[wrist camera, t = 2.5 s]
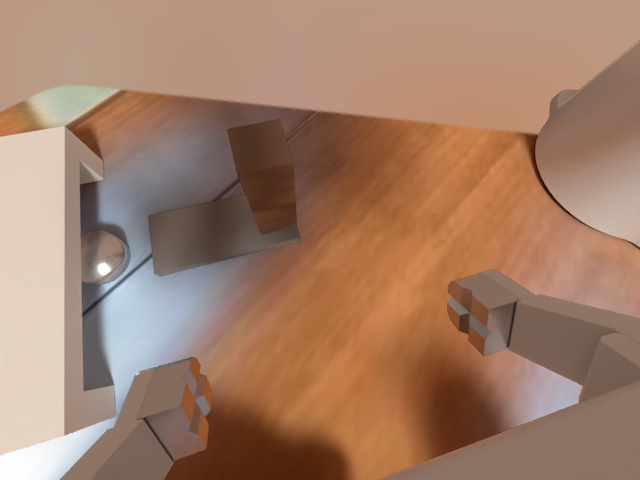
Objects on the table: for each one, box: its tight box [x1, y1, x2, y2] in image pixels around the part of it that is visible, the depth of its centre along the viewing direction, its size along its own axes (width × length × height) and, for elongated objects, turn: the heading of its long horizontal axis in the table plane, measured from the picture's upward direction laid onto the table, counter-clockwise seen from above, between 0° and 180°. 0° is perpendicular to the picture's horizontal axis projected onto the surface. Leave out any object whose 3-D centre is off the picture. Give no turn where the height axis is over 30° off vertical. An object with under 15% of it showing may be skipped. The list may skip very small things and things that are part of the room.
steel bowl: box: [81, 230, 130, 285], centre depth 23 cm, size 4×4×2 cm
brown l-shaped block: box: [148, 119, 300, 276], centre depth 20 cm, size 12×5×10 cm, turn 106°
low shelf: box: [0, 126, 115, 455], centre depth 21 cm, size 6×21×4 cm, turn 16°
